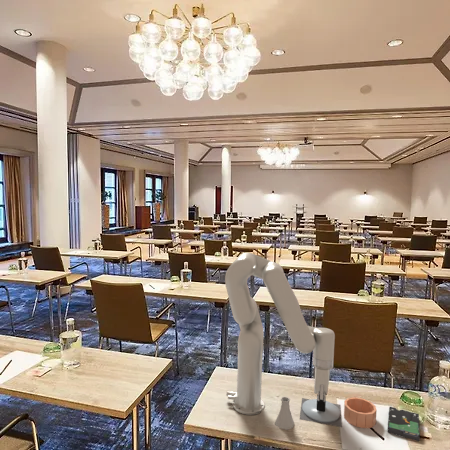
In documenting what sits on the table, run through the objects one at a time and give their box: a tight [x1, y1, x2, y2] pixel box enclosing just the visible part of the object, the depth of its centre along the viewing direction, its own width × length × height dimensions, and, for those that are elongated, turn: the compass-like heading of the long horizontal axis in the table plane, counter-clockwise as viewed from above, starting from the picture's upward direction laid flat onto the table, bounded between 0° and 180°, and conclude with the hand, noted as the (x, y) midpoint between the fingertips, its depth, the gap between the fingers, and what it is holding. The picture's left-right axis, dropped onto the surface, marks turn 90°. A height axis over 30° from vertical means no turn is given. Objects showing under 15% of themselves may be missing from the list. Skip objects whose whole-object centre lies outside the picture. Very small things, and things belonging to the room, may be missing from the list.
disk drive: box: [387, 406, 421, 442], centre depth 131 cm, size 10×3×15 cm
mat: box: [299, 397, 343, 428], centre depth 137 cm, size 15×15×1 cm
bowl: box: [343, 396, 377, 429], centre depth 133 cm, size 11×11×6 cm
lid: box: [302, 395, 340, 423], centre depth 137 cm, size 14×14×6 cm
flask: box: [274, 396, 295, 431], centre depth 129 cm, size 7×7×10 cm
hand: (320, 407), depth 137 cm, fingers closed on lid, 3 cm apart
